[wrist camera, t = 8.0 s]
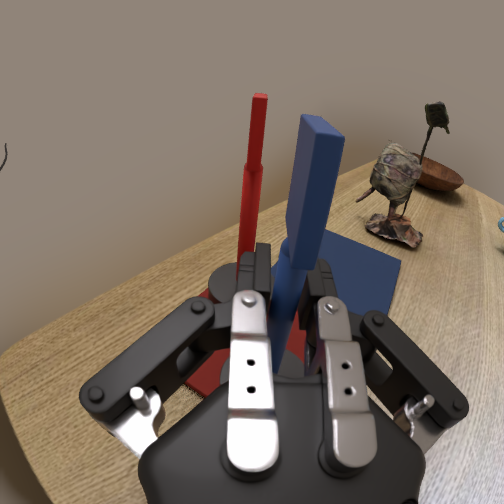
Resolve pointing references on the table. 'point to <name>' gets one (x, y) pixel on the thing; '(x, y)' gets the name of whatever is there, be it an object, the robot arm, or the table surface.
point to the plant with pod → (401, 181)
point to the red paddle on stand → (245, 207)
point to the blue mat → (359, 273)
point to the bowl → (438, 176)
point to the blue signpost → (301, 234)
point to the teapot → (501, 224)
